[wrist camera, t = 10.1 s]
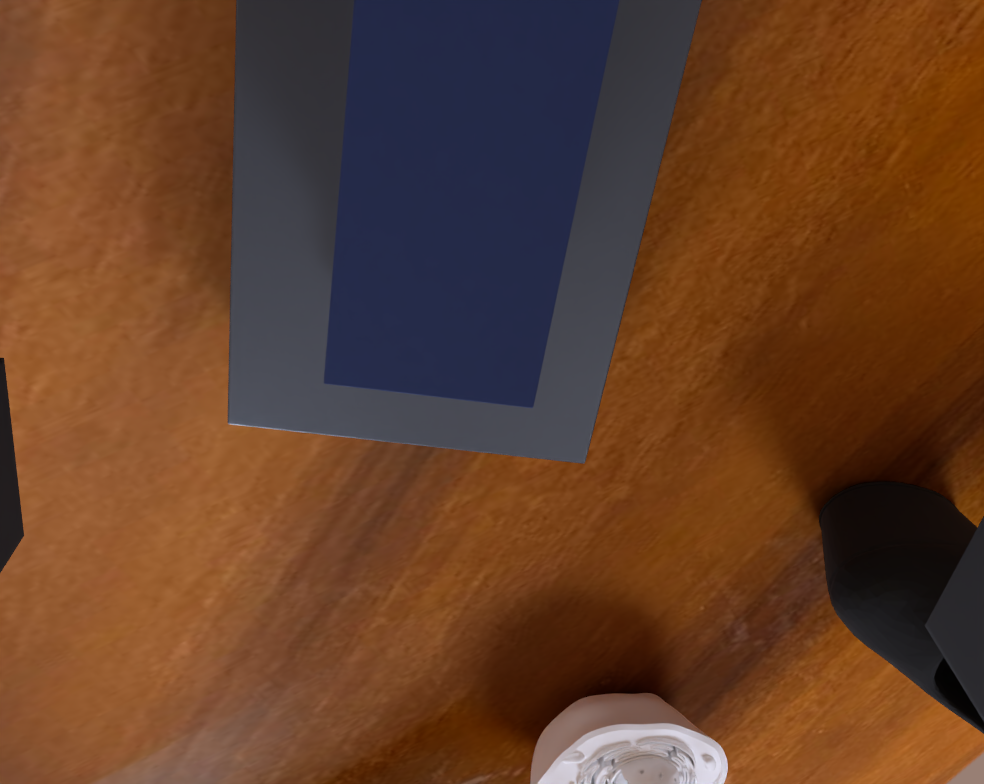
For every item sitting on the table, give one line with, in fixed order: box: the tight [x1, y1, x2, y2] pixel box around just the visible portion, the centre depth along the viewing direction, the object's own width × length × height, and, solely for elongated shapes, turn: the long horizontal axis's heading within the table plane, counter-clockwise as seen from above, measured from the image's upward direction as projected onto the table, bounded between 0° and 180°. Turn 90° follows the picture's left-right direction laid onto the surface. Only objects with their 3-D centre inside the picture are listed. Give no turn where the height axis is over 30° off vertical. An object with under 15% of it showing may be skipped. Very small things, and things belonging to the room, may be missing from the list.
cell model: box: [530, 693, 728, 784], centre depth 51 cm, size 10×12×7 cm
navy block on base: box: [324, 0, 620, 408], centre depth 26 cm, size 14×6×9 cm, turn 171°
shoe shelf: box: [228, 0, 702, 463], centre depth 32 cm, size 26×14×6 cm, turn 171°
